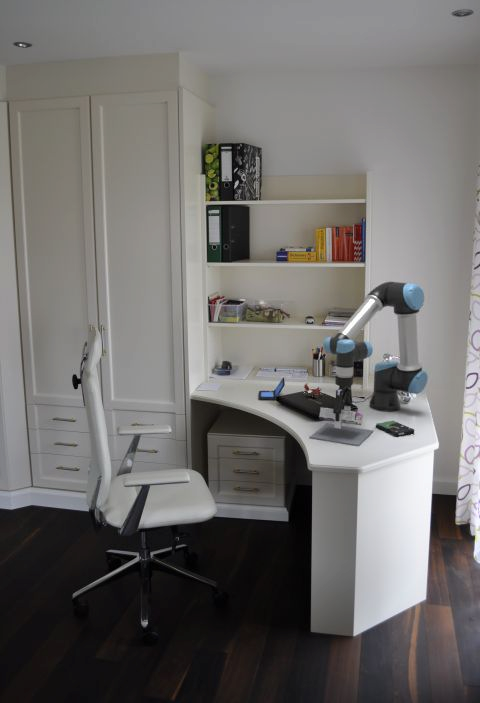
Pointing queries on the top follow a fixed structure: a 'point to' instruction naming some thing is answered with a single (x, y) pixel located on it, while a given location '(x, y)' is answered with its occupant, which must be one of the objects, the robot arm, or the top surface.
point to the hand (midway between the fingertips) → (342, 424)
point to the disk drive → (394, 428)
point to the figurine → (312, 391)
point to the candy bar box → (346, 417)
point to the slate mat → (342, 434)
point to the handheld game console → (271, 392)
